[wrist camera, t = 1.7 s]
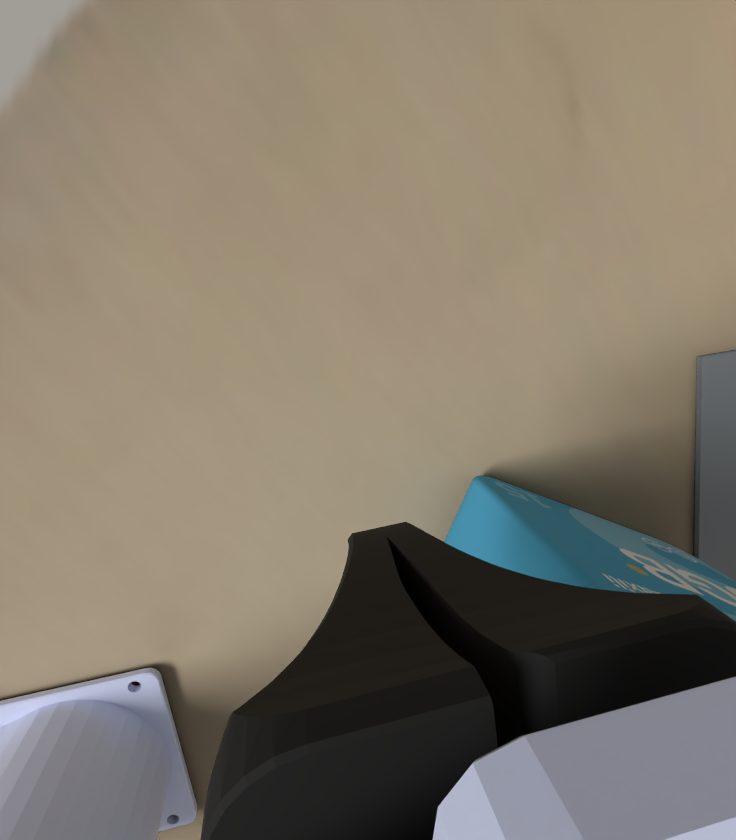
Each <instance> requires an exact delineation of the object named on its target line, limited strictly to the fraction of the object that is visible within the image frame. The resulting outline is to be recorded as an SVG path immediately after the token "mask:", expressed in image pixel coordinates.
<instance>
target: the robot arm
mask: <svg viewBox="0 0 736 840" xmlns="http://www.w3.org/2000/svg"><path fill="white" fill-rule="evenodd" d="M348 543H349V551H348V557H347V562H346V565H345V569H344V572H343V576H342V579H341V582H340V584H339V587H338V589H337V592H336V594H335V597H334V599H333V601H332V603H331V605H330V607H329V609H328V611H327V613H326V615H325V617H324V619H323V620H322V622H321V624H320V625H319V627H318V629H317V630H316V632H315V633H314V635H313V636H312V637H311V639H310V640H309V642H308V643H307V645H306V646H305V647H304V649H303V650H302V651H301V652H300V654H299V655H298V656H297V657H296V658H295V659H294V660H293V661H292V662H291V663H290V664H289V665H288V666H287V667H286V668H285V669H284V670H283V671H282V672H281V673H280V674H279V675H278V676H277V677H276V678H275V679H274V680H273V681H272V682H271V683H270V684H268V685H267V686H266V687H265V688H263V689H262V690H261V691H260V692H258V693H257V694H256V695H255V696H253V697H252V698H251V699H250V700H248V701H247V702H246V703H245V704H243V705H242V706H241V707H240V708H238V709H237V710H235V711H234V712H233V713H232V714H231V716H230V718H229V721H228V723H227V726H226V729H225V732H224V735H223V738H222V741H221V744H220V747H219V751H218V754H217V758H216V761H215V765H214V768H213V772H212V776H211V780H210V784H209V788H208V793H207V798H206V804H205V811H204V818H203V826H202V834H201V840H736V621H734V620H733V619H732V618H730V617H729V616H727V615H726V614H724V613H723V612H722V611H720V610H719V609H717V608H716V607H714V606H713V605H712V604H710V603H709V602H707V601H706V600H704V599H703V598H701V597H700V596H698V595H693V594H658V593H632V592H621V591H612V590H602V589H594V588H587V587H580V586H574V585H569V584H564V583H559V582H554V581H549V580H544V579H540V578H536V577H532V576H528V575H525V574H522V573H518V572H515V571H512V570H509V569H505V568H502V567H499V566H497V565H494V564H491V563H489V562H486V561H484V560H481V559H479V558H477V557H474V556H472V555H469V554H467V553H465V552H463V551H461V550H459V549H457V548H455V547H453V546H451V545H449V544H447V543H445V542H443V541H441V540H439V539H437V538H435V537H433V536H432V535H430V534H428V533H426V532H424V531H423V530H421V529H419V528H417V527H415V526H413V525H412V524H410V523H407V522H403V523H399V524H394V525H389V526H385V527H380V528H376V529H371V530H366V531H362V532H357V533H352V534H351V536H350V537H349V539H348ZM133 681H137V682H139V683H140V684H141V685H139V686H135V685H132V684H131V682H133ZM171 815H177V816H171ZM196 815H197V804H196V800H195V796H194V793H193V789H192V785H191V782H190V778H189V774H188V771H187V767H186V764H185V760H184V756H183V753H182V749H181V745H180V742H179V738H178V734H177V731H176V727H175V724H174V720H173V716H172V713H171V709H170V705H169V702H168V698H167V694H166V691H165V687H164V684H163V680H162V676H161V674H160V672H159V671H158V670H156V669H154V668H144V669H140V670H135V671H131V672H126V673H122V674H118V675H113V676H109V677H104V678H100V679H95V680H91V681H86V682H82V683H77V684H73V685H69V686H64V687H60V688H55V689H51V690H46V691H42V692H37V693H33V694H28V695H24V696H19V697H15V698H11V699H6V700H2V701H0V840H156V839H157V835H158V832H160V831H164V830H168V829H172V828H175V827H179V826H183V825H187V824H189V823H191V822H193V821H194V820H195V818H196Z"/></svg>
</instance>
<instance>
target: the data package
mask: <svg viewBox="0 0 736 840" xmlns="http://www.w3.org/2000/svg"><path fill="white" fill-rule="evenodd" d="M444 542H445V543H447V544H449V545H451V546H453V547H455V548H457V549H459V550H461V551H463V552H465V553H467V554H469V555H472V556H474V557H477V558H479V559H481V560H484V561H486V562H489V563H491V564H494V565H497V566H499V567H502V568H505V569H509V570H512V571H515V572H518V573H522V574H525V575H528V576H532V577H536V578H540V579H544V580H549V581H554V582H559V583H564V584H569V585H574V586H580V587H587V588H594V589H602V590H612V591H621V592H632V593H658V594H693V595H698V596H700V597H701V598H703V599H704V600H706V601H707V602H709V603H710V604H712V605H713V606H714V607H716V608H717V609H719V610H720V611H722V612H723V613H724V614H726V615H727V616H729V617H730V618H732V619H733V620H734V621H736V582H735V581H733V580H732V579H730V578H729V577H727V576H725V575H724V574H722V573H720V572H719V571H717V570H716V569H714V568H712V567H711V566H709V565H708V564H706V563H704V562H703V561H701V560H699V559H698V558H696V557H694V556H692V555H691V554H689V553H687V552H685V551H683V550H681V549H679V548H677V547H675V546H673V545H670V544H668V543H666V542H664V541H661V540H659V539H656V538H653V537H651V536H648V535H645V534H643V533H640V532H637V531H635V530H632V529H629V528H627V527H624V526H621V525H618V524H616V523H613V522H610V521H608V520H605V519H602V518H600V517H597V516H594V515H592V514H589V513H586V512H584V511H581V510H578V509H575V508H573V507H570V506H567V505H565V504H562V503H559V502H557V501H554V500H551V499H549V498H546V497H543V496H540V495H538V494H535V493H532V492H530V491H527V490H524V489H522V488H519V487H516V486H514V485H511V484H508V483H506V482H503V481H500V480H497V479H494V478H491V477H487V476H477V477H475V478H474V479H473V480H472V482H471V485H470V487H469V489H468V491H467V493H466V496H465V498H464V500H463V502H462V504H461V506H460V509H459V511H458V513H457V515H456V517H455V520H454V522H453V524H452V526H451V528H450V531H449V533H448V535H447V537H446V539H445V541H444Z"/></svg>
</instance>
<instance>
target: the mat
mask: <svg viewBox="0 0 736 840" xmlns="http://www.w3.org/2000/svg"><path fill="white" fill-rule="evenodd" d="M694 557H696V558H698V559H699V560H701V561H703V562H704V563H706V564H708V565H709V566H711V567H712V568H714V569H716V570H717V571H719V572H720V573H722V574H724V575H725V576H727V577H729V578H730V579H732V580H733V581H735V582H736V350H731V351H725V352H720V353H714V354H708V355H702V356H697V398H696V465H695V532H694Z"/></svg>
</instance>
